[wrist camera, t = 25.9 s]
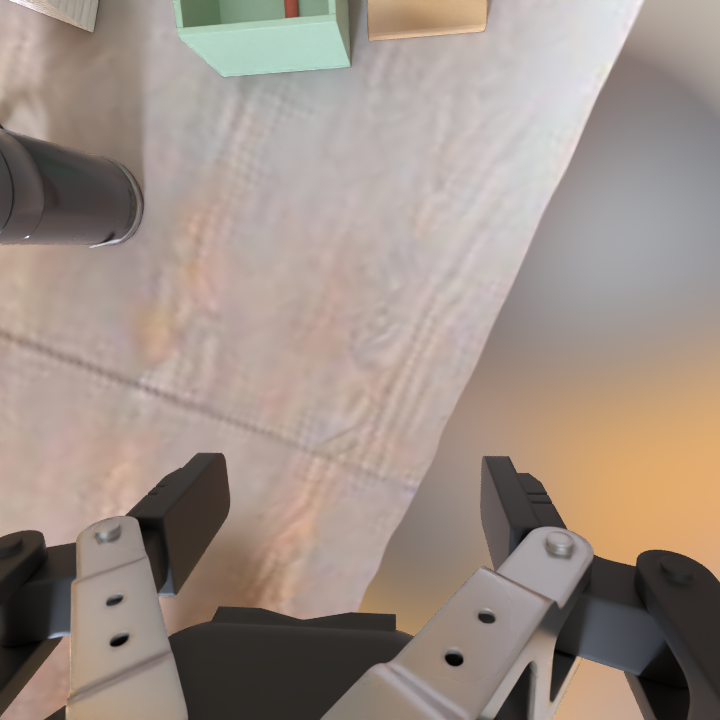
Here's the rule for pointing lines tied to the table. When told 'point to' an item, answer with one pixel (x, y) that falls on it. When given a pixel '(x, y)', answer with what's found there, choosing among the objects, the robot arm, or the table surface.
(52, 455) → the table surface
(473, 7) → the stand
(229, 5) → the bin
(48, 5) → the stack of papers
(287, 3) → the straw
